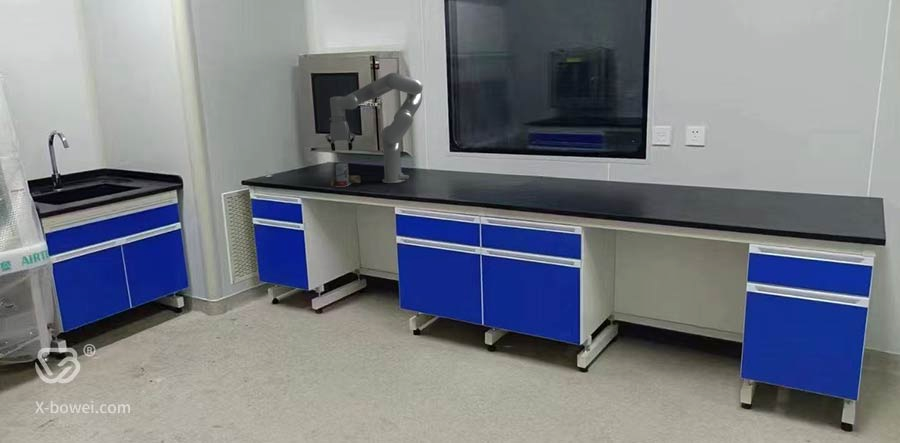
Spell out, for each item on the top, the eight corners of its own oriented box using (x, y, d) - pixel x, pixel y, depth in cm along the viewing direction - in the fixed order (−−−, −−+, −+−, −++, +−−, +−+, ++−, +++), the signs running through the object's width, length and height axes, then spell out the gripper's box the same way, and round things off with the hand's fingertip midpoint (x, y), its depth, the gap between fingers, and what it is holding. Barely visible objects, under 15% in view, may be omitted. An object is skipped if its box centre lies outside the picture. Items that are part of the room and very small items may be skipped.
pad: (351, 183, 378) (351, 183, 378) (345, 186, 369) (345, 186, 368) (341, 183, 379) (341, 183, 379) (334, 186, 370) (334, 186, 370)
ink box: (345, 186, 369) (343, 165, 367) (336, 186, 370) (335, 165, 367) (349, 183, 378) (348, 162, 375) (341, 183, 378) (339, 162, 376)
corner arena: (360, 182, 380) (360, 175, 379) (353, 186, 368) (353, 179, 367) (338, 182, 382) (338, 175, 381) (330, 186, 370) (330, 179, 370)
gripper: (321, 120, 363) (324, 152, 368) (351, 119, 360) (354, 150, 364) (326, 119, 370) (329, 150, 375) (356, 117, 367) (359, 148, 371)
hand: (342, 150), depth 369 cm, fingers open, 9 cm apart
